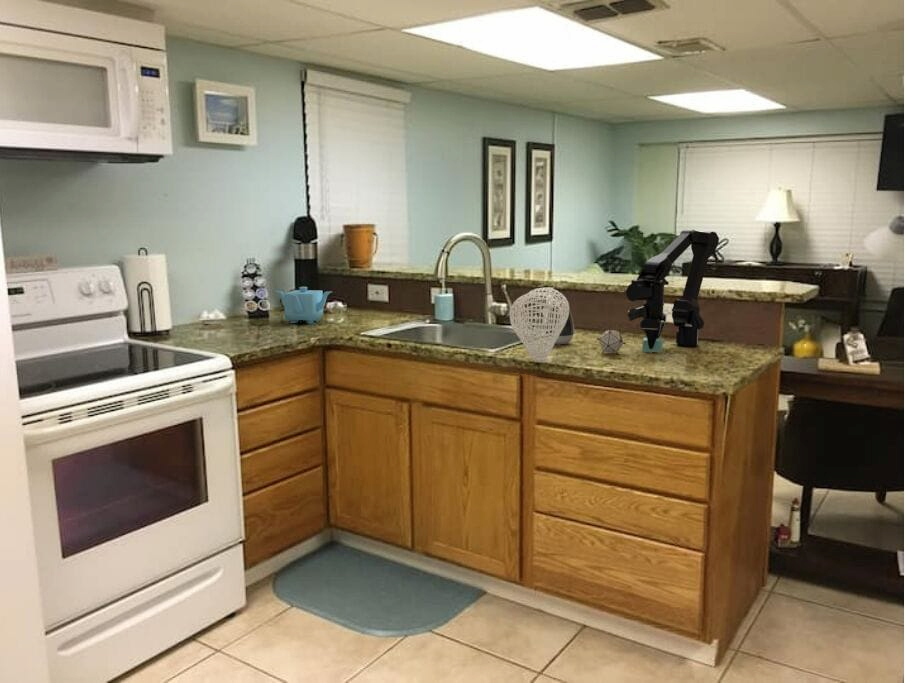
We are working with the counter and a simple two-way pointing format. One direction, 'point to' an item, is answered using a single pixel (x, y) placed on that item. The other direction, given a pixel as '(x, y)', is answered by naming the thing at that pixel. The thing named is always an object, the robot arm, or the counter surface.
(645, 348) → the teal block
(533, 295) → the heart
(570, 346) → the counter surface
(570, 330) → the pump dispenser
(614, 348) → the game die
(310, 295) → the teakettle
